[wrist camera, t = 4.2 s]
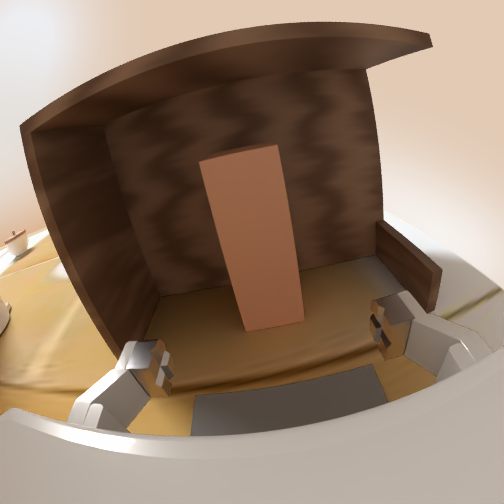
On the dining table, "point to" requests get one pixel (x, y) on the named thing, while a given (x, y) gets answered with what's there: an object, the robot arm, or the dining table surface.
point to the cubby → (212, 141)
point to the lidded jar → (17, 243)
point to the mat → (287, 404)
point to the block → (255, 233)
